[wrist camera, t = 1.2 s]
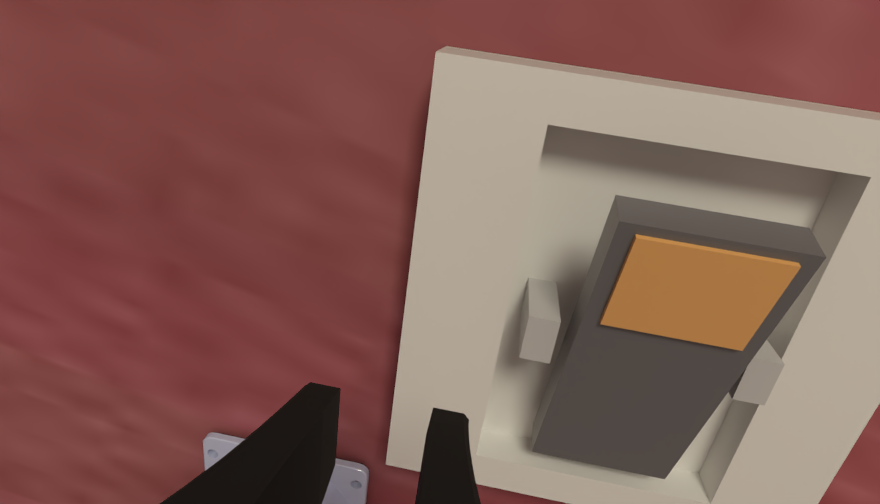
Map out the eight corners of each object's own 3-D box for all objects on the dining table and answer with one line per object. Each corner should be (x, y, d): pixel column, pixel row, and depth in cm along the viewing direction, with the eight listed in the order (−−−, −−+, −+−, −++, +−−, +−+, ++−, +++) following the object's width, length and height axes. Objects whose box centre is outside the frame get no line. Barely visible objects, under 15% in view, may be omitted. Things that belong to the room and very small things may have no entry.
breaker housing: (765, 501, 23) (803, 579, 20) (397, 425, 24) (378, 487, 21) (972, 127, 16) (1080, 156, 13) (446, 46, 17) (428, 55, 14)
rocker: (660, 450, 21) (665, 483, 20) (532, 424, 22) (531, 455, 21) (809, 228, 14) (828, 261, 13) (615, 194, 14) (619, 225, 13)
